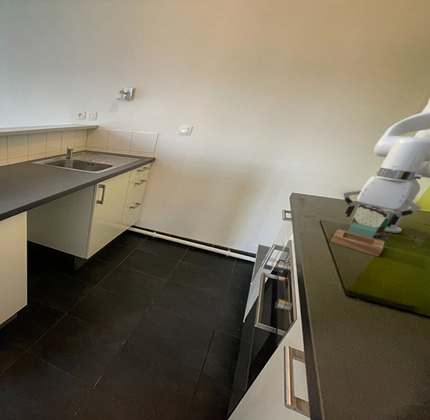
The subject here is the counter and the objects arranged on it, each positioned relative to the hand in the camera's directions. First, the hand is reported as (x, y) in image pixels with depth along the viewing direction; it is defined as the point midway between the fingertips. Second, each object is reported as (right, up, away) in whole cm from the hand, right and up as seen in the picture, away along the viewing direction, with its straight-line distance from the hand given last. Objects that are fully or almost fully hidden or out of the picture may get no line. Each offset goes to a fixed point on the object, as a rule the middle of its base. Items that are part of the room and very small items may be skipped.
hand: (367, 220), depth 89 cm
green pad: (0, -6, +3) cm, 7 cm away
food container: (+10, -5, +7) cm, 13 cm away
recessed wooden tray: (-9, -8, -4) cm, 13 cm away
